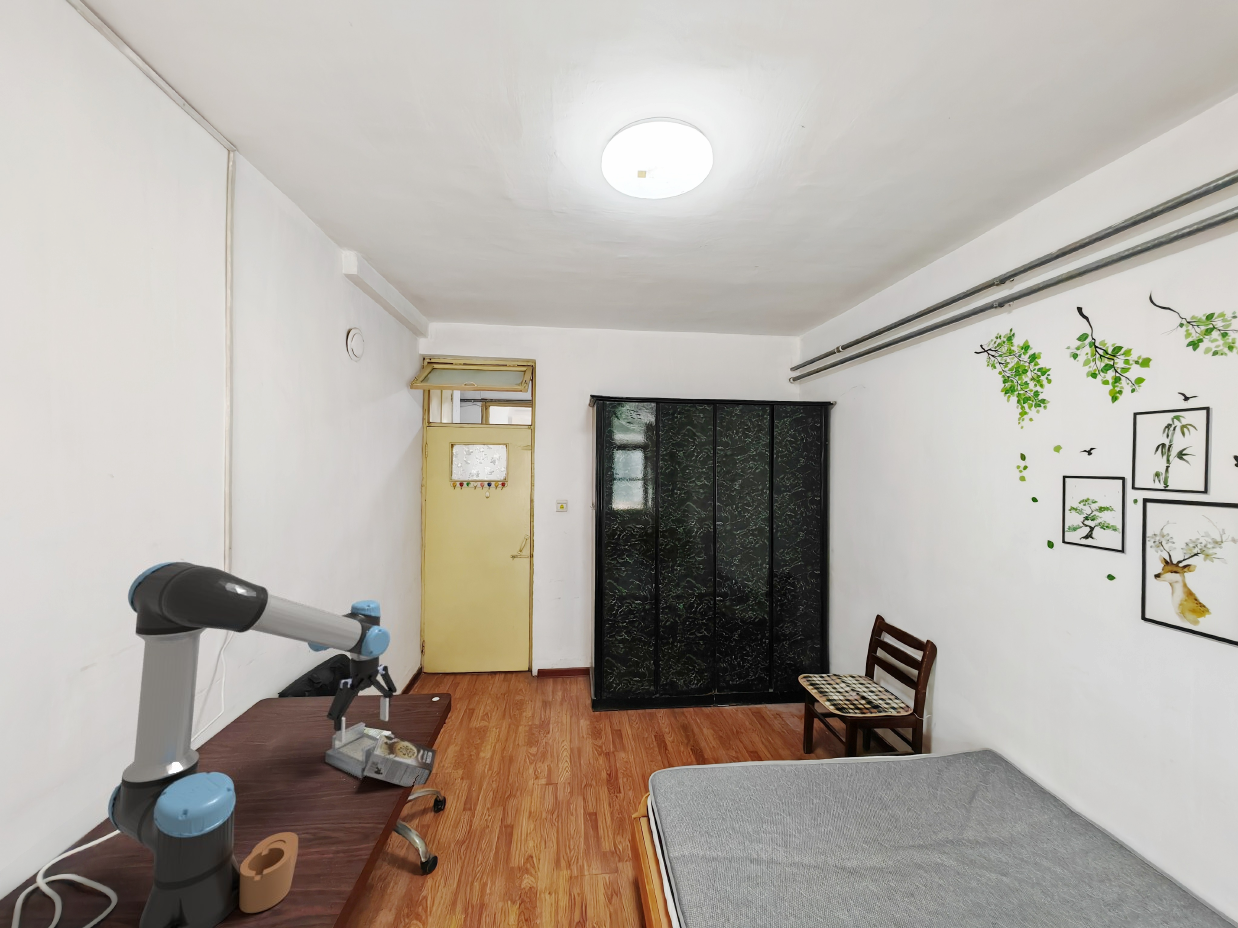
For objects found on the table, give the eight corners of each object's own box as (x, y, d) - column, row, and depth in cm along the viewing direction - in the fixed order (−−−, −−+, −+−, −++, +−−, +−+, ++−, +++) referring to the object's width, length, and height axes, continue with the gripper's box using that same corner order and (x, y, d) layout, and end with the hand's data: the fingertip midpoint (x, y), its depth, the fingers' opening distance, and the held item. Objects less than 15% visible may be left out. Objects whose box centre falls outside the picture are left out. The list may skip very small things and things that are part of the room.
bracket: (287, 902, 97) (287, 867, 97) (234, 918, 93) (235, 881, 93) (300, 839, 113) (301, 809, 113) (255, 851, 109) (256, 819, 110)
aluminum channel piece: (361, 779, 135) (361, 753, 135) (325, 762, 142) (325, 737, 142) (399, 757, 145) (399, 733, 145) (364, 742, 153) (364, 719, 153)
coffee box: (381, 732, 138) (437, 748, 142) (370, 754, 138) (426, 769, 142) (373, 752, 129) (433, 769, 133) (362, 775, 129) (422, 792, 133)
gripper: (330, 673, 131) (328, 754, 131) (410, 645, 153) (408, 714, 153) (313, 667, 135) (311, 746, 134) (393, 640, 157) (392, 708, 156)
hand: (363, 729), depth 144 cm, fingers open, 13 cm apart
